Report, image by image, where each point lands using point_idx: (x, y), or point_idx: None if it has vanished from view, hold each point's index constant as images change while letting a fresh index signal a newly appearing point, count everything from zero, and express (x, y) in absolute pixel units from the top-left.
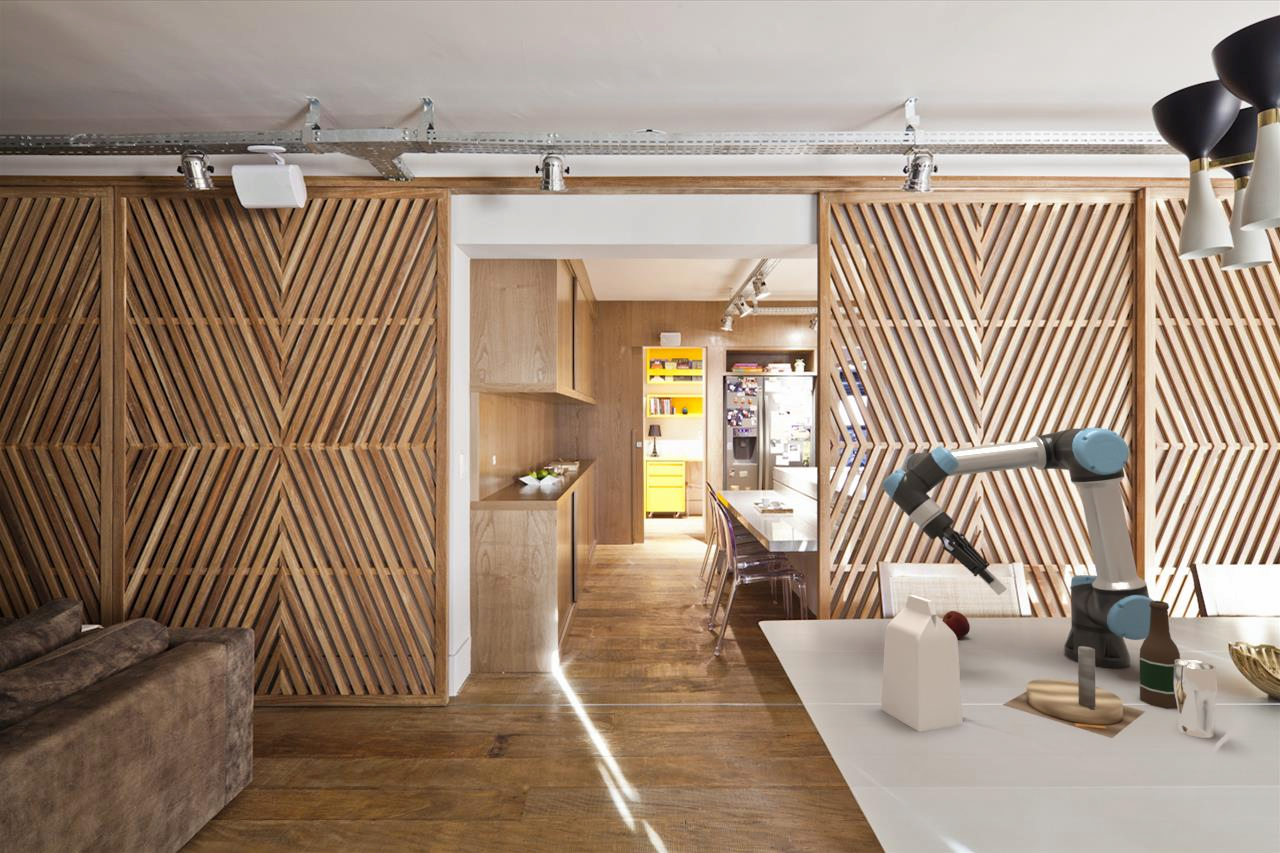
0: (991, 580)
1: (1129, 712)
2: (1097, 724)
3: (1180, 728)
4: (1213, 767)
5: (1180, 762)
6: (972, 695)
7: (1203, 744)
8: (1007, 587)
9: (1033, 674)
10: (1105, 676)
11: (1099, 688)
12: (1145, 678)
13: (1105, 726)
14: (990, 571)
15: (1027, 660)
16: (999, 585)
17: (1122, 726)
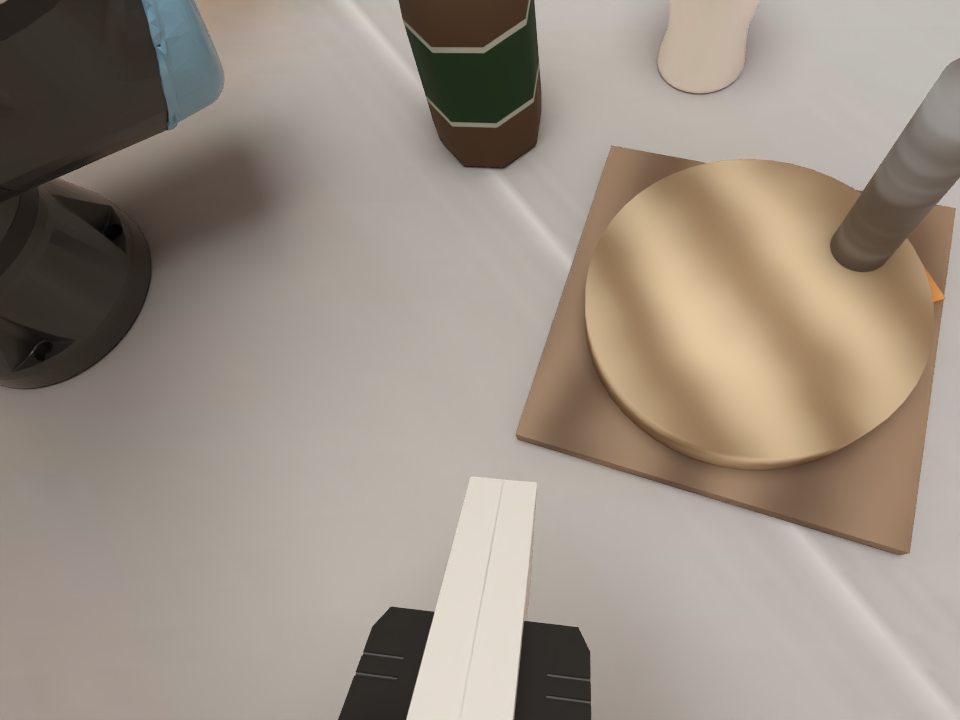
0: (584, 654)
1: (655, 178)
2: None
3: (729, 67)
4: (909, 29)
5: None
6: (804, 697)
7: None
8: (480, 482)
9: (349, 476)
10: (250, 260)
11: (616, 224)
12: (514, 88)
13: None
14: (475, 687)
15: (166, 511)
16: (530, 559)
17: None
